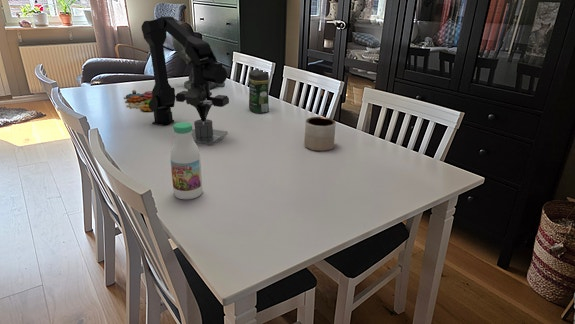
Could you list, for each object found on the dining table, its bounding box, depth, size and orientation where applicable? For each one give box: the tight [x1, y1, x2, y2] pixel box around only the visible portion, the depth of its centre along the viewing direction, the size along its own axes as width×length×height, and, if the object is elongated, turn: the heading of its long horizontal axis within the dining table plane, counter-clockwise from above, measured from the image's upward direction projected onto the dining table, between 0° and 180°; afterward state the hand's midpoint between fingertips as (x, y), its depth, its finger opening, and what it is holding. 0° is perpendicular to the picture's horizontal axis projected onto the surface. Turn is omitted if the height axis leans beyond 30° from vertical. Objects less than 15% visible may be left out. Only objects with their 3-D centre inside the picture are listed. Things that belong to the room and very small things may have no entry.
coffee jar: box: [248, 69, 270, 114], centre depth 174 cm, size 10×8×19 cm
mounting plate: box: [192, 128, 229, 146], centre depth 144 cm, size 13×13×5 cm
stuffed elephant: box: [172, 37, 226, 90], centre depth 208 cm, size 19×21×27 cm
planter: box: [303, 116, 337, 152], centre depth 139 cm, size 11×11×10 cm
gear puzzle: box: [123, 89, 153, 112], centre depth 182 cm, size 31×16×4 cm, turn 25°
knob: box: [193, 118, 214, 138], centre depth 144 cm, size 7×7×5 cm
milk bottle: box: [169, 121, 203, 200], centre depth 102 cm, size 8×8×20 cm
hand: (203, 121), depth 143 cm, fingers closed
